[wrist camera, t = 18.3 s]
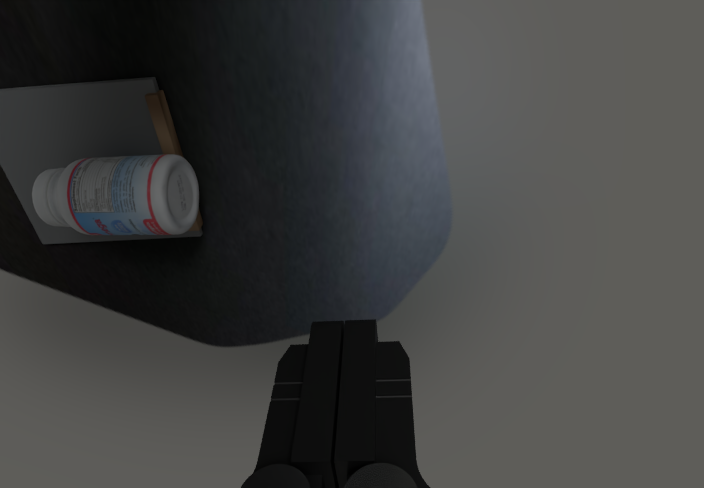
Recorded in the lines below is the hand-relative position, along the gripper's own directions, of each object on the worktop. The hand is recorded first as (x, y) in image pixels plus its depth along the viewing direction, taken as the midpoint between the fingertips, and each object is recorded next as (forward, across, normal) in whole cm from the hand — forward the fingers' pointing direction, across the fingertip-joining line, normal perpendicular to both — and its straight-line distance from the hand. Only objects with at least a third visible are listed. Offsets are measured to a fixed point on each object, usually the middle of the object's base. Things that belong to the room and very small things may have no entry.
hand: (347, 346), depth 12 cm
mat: (+29, +24, +8) cm, 38 cm away
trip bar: (+29, +16, +8) cm, 34 cm away
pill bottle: (+24, +14, +9) cm, 30 cm away
